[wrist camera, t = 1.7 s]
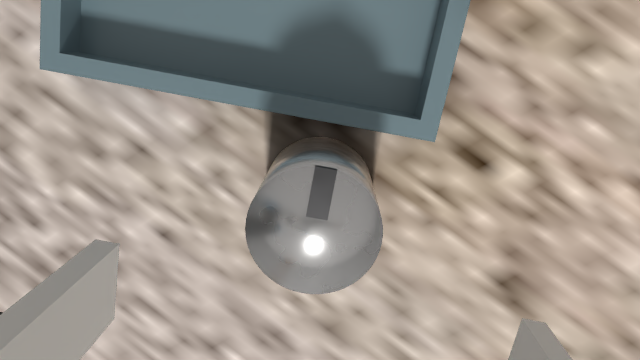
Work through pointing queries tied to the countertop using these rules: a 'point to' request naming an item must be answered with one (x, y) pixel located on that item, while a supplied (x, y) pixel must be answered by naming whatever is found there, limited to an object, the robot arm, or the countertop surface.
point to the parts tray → (270, 54)
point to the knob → (315, 218)
